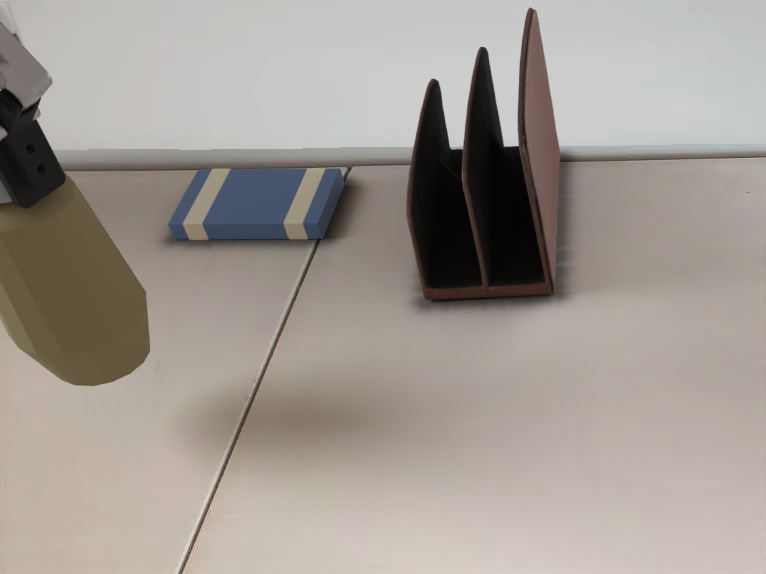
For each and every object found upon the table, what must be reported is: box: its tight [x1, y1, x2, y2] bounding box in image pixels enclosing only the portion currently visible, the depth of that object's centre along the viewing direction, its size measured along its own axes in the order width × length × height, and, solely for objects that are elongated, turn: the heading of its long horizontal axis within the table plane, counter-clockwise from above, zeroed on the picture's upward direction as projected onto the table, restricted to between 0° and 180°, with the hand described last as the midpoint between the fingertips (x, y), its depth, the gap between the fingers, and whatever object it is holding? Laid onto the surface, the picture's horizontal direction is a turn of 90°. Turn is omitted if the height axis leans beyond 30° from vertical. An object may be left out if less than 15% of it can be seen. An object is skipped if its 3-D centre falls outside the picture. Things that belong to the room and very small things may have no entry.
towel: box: [167, 167, 346, 241], centre depth 88 cm, size 8×12×2 cm, turn 90°
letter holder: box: [405, 7, 561, 301], centre depth 82 cm, size 10×20×14 cm, turn 4°
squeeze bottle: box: [0, 172, 151, 387], centre depth 62 cm, size 8×8×18 cm
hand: (2, 179), depth 59 cm, fingers closed on squeeze bottle, 4 cm apart
